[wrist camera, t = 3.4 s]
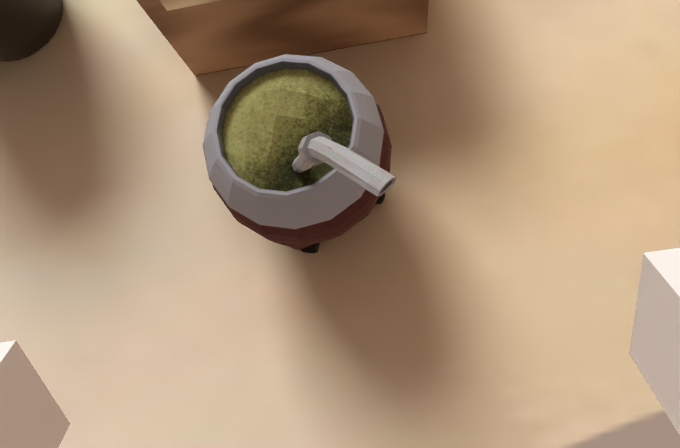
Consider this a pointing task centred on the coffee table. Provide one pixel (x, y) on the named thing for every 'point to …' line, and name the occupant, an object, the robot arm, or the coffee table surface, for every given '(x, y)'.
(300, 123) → the mate gourd
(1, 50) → the mug
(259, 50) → the tan block with ledge
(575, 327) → the coffee table surface
